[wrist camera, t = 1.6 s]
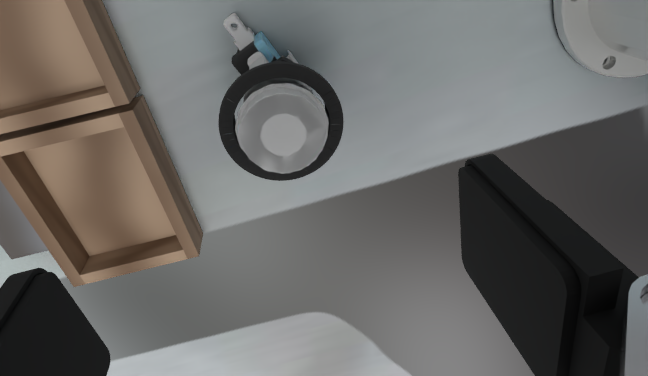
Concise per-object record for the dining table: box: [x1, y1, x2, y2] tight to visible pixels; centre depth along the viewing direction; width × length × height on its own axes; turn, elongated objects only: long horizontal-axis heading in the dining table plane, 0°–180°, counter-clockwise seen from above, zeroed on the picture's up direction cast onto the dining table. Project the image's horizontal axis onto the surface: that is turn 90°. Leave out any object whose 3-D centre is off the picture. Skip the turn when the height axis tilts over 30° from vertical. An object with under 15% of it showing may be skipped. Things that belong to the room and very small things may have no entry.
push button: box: [219, 13, 343, 181], centre depth 22 cm, size 7×5×10 cm
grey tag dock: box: [0, 95, 203, 287], centre depth 27 cm, size 12×11×3 cm
